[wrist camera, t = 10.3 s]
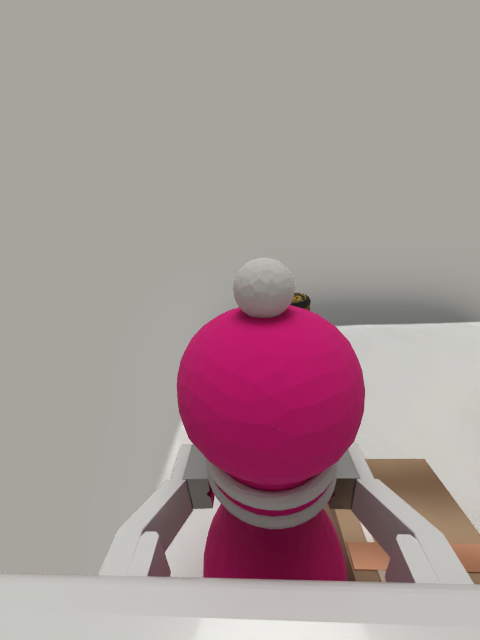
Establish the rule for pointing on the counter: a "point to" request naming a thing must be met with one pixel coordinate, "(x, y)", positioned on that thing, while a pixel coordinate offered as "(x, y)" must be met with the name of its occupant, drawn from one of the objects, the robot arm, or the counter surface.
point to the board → (423, 496)
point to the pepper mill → (271, 429)
